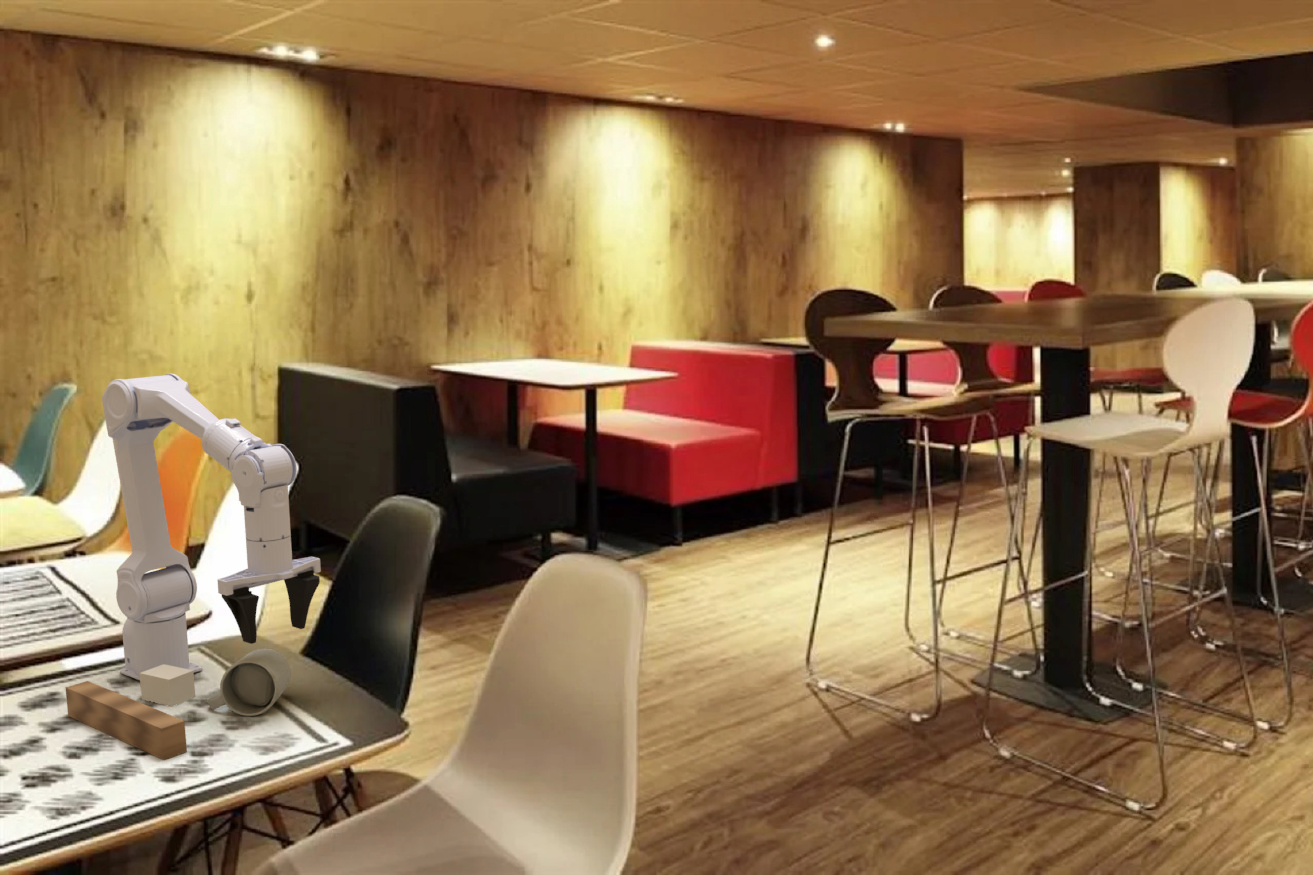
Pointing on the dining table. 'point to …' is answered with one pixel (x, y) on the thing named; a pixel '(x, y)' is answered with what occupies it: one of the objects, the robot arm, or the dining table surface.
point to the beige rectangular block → (167, 685)
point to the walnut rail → (127, 719)
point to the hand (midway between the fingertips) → (274, 634)
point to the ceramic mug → (253, 683)
